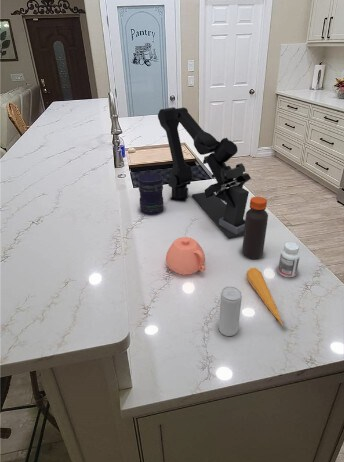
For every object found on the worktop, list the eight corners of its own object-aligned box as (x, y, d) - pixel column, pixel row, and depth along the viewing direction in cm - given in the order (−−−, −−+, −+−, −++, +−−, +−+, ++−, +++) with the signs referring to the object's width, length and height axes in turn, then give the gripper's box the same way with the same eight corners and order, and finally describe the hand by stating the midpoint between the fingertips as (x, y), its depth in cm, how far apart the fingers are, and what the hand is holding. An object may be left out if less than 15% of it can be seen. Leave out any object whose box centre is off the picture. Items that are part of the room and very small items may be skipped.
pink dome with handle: (184, 250, 112) (184, 224, 107) (217, 268, 103) (218, 241, 98) (158, 266, 104) (156, 239, 99) (190, 287, 95) (190, 259, 90)
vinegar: (264, 250, 111) (272, 197, 101) (260, 261, 105) (267, 206, 96) (244, 245, 113) (250, 193, 104) (239, 256, 108) (245, 202, 99)
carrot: (246, 278, 99) (242, 269, 97) (260, 272, 99) (256, 262, 96) (276, 335, 83) (273, 325, 80) (293, 328, 83) (290, 318, 80)
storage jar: (136, 213, 135) (133, 179, 128) (146, 202, 143) (144, 170, 136) (157, 217, 132) (156, 183, 125) (167, 206, 140) (166, 174, 133)
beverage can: (216, 322, 83) (219, 286, 78) (235, 321, 84) (239, 285, 78) (220, 338, 79) (223, 301, 74) (240, 336, 80) (244, 299, 74)
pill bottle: (287, 264, 104) (292, 239, 99) (300, 274, 99) (305, 248, 95) (274, 269, 102) (278, 243, 97) (286, 280, 97) (291, 253, 93)
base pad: (191, 196, 148) (192, 189, 147) (212, 193, 151) (212, 186, 149) (228, 239, 117) (229, 230, 115) (253, 234, 120) (254, 225, 118)
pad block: (234, 225, 118) (240, 193, 112) (223, 218, 123) (229, 186, 117) (242, 223, 120) (249, 191, 114) (231, 216, 125) (237, 185, 119)
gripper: (211, 163, 109) (232, 204, 106) (249, 151, 118) (270, 189, 115) (195, 178, 118) (215, 216, 115) (232, 166, 128) (251, 201, 125)
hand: (238, 205), depth 117 cm, fingers closed on pad block, 4 cm apart
